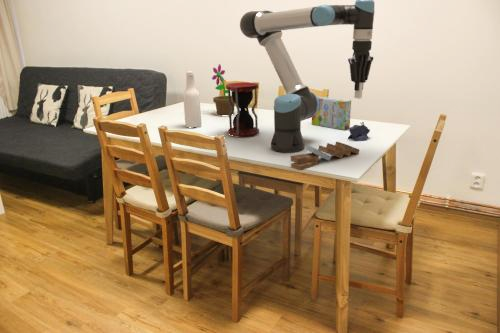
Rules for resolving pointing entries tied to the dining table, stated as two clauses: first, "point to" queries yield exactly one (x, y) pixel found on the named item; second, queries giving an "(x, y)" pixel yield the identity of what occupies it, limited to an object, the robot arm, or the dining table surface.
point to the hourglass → (242, 109)
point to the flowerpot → (221, 101)
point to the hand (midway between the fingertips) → (358, 97)
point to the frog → (359, 132)
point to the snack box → (333, 113)
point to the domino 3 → (318, 152)
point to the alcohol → (191, 102)
